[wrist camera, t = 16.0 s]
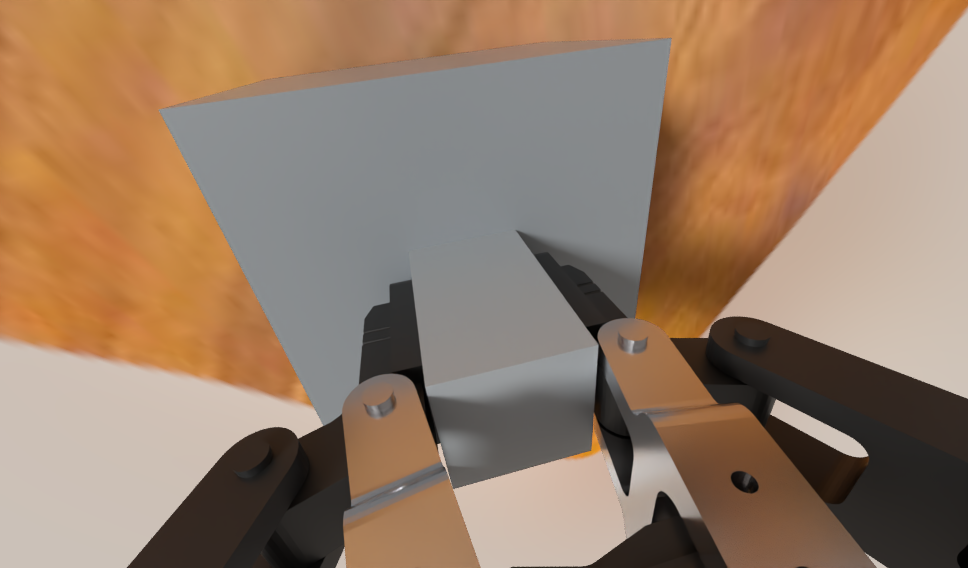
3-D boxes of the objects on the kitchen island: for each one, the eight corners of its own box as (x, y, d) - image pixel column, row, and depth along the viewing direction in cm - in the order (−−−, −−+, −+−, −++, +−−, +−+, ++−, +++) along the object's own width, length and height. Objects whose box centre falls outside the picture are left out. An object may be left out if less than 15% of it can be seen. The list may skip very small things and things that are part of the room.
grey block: (268, 79, 15) (-109, 183, 4) (542, 42, 16) (915, 30, 5) (352, 309, 21) (315, 625, 10) (547, 268, 22) (720, 499, 11)
